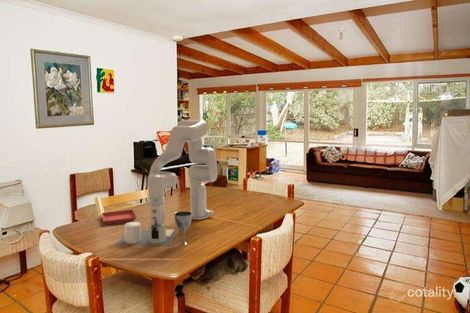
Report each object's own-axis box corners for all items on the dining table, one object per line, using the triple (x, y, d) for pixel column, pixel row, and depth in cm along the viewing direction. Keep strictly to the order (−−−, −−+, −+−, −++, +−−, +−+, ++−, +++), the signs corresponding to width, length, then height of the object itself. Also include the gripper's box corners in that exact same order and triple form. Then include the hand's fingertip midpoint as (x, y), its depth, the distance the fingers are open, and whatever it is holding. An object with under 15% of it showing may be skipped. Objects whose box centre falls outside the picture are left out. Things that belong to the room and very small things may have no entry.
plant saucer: (101, 217, 198) (101, 212, 198) (133, 214, 205) (132, 209, 205) (103, 226, 182) (103, 221, 181) (137, 222, 189) (136, 217, 189)
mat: (177, 230, 174) (177, 229, 174) (169, 246, 154) (169, 244, 153) (128, 230, 175) (128, 229, 174) (114, 246, 154) (114, 244, 154)
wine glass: (175, 241, 160) (175, 211, 158) (192, 240, 161) (192, 210, 159) (174, 247, 152) (173, 216, 150) (191, 247, 153) (191, 215, 151)
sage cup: (167, 237, 163) (166, 221, 162) (163, 243, 156) (163, 227, 155) (152, 237, 163) (151, 221, 162) (148, 243, 156) (147, 227, 155)
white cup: (143, 237, 163) (142, 221, 162) (138, 243, 156) (137, 226, 155) (127, 237, 163) (127, 221, 162) (122, 243, 156) (122, 226, 155)
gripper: (160, 205, 148) (161, 241, 150) (168, 196, 166) (169, 228, 168) (143, 205, 148) (144, 241, 151) (153, 195, 166) (154, 228, 168)
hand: (157, 234), depth 159 cm, fingers open, 9 cm apart
